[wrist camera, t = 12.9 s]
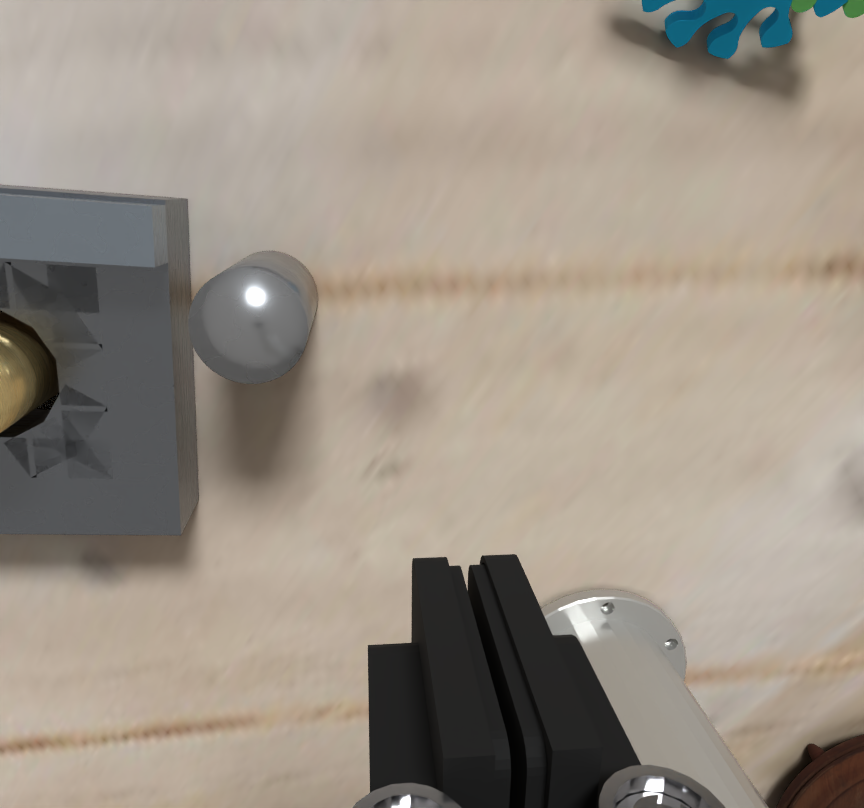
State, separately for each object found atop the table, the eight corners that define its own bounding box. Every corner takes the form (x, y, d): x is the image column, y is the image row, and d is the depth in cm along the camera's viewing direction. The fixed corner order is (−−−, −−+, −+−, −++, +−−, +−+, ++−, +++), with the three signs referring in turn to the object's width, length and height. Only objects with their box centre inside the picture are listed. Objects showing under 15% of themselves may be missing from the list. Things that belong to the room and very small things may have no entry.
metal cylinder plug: (316, 343, 34) (306, 386, 27) (226, 338, 34) (190, 381, 26) (319, 254, 33) (309, 273, 25) (225, 247, 32) (186, 264, 25)
